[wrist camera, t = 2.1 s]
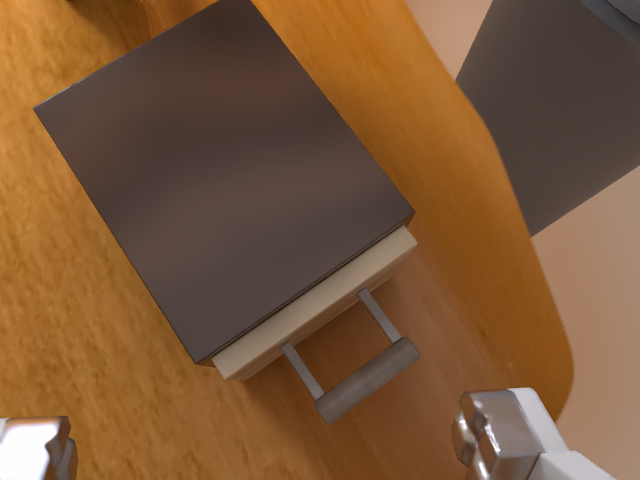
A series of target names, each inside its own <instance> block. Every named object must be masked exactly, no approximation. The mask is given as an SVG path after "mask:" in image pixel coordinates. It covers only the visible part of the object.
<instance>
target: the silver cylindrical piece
mask: <svg viewBox="0 0 640 480" xmlns="http://www.w3.org/2000/svg"><path fill="white" fill-rule="evenodd" d="M216 1H218V0H141V2H142V4H143V6H144V8H145V10H146V14H147V19H148V26H149V30H150V34H151V37H152V38H154V37H155V36H157V35H159V34H161V33H162V32H164V31H166V30H168V29H169V28H171V27H173V26H174V25H176V24H178V23H180V22H181V21H183V20H185V19H187V18H188V17H190V16H192V15H193V14H195V13H197V12H199V11H200V10H202V9H204V8H206V7H207V6H209V5H211V4H212V3H214V2H216Z"/></svg>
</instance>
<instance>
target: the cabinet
mask: <svg viewBox="0 0 640 480" xmlns="http://www.w3.org/2000/svg"><path fill="white" fill-rule="evenodd" d="M33 110H34V111H35V113H36V114H37V116H38V117H39V119H40V121H41V122H42V124H43V125H44V127H45V129H46V130H47V132H48V133H49V135H50V136H51V138H52V140H53V141H54V143H55V144H56V146H57V147H58V149H59V151H60V152H61V154H62V155H63V157H64V158H65V160H66V162H67V163H68V165H69V166H70V168H71V169H72V171H73V173H74V174H75V176H76V177H77V179H78V181H79V182H80V184H81V185H82V187H83V188H84V190H85V192H86V193H87V195H88V196H89V198H90V199H91V201H92V203H93V204H94V206H95V207H96V209H97V210H98V212H99V214H100V215H101V217H102V218H103V220H104V221H105V223H106V225H107V226H108V228H109V229H110V231H111V233H112V234H113V236H114V237H115V239H116V240H117V242H118V244H119V245H120V247H121V248H122V250H123V251H124V253H125V255H126V256H127V258H128V259H129V261H130V262H131V264H132V266H133V267H134V269H135V270H136V272H137V273H138V275H139V277H140V278H141V280H142V281H143V283H144V285H145V286H146V288H147V289H148V291H149V292H150V294H151V296H152V297H153V299H154V300H155V302H156V303H157V305H158V307H159V308H160V310H161V311H162V313H163V314H164V316H165V318H166V319H167V321H168V322H169V324H170V325H171V327H172V329H173V330H174V332H175V333H176V335H177V337H178V338H179V340H180V341H181V343H182V344H183V346H184V348H185V349H186V351H187V352H188V354H189V355H190V357H191V359H192V360H193V362H194V363H195V364H196V365H203V366H209V367H216V366H215V365H214V363H213V361H212V360H211V358H212V357H213V356H215V355H216V354H218V353H219V352H220V351H222V350H223V349H225V348H226V347H228V346H229V345H231V344H232V343H233V342H235V341H236V340H238V339H239V338H241V337H242V336H243V335H245V334H246V333H248V332H249V331H251V330H252V329H254V328H255V327H256V326H258V325H259V324H261V323H262V322H264V321H265V320H267V319H268V318H269V317H271V316H272V315H274V314H275V313H277V312H278V311H280V310H281V309H282V308H284V307H285V306H287V305H288V304H290V303H291V302H292V301H294V300H295V299H297V298H298V297H300V296H301V295H303V294H304V293H305V292H307V291H308V290H310V289H311V288H313V287H314V286H316V285H317V284H318V283H320V282H321V281H323V280H324V279H326V278H327V277H328V276H330V275H331V274H333V273H334V272H336V271H337V270H339V269H340V268H341V267H343V266H344V265H346V264H347V263H349V262H350V261H352V260H353V259H354V258H356V257H357V256H359V255H360V254H362V253H363V252H364V251H366V250H367V249H369V248H370V247H372V246H373V245H375V244H376V243H377V242H379V241H380V240H382V239H383V238H385V237H386V236H388V235H389V234H390V233H392V232H393V231H395V230H396V229H398V228H399V227H401V226H402V225H404V226H405V227H406V228H407V226H408V224H409V223H410V221H411V219H412V218H413V216H414V214H415V211H414V209H413V208H412V207H411V206H410V204H409V203H408V202H407V200H406V199H405V198H404V197H403V195H402V194H401V193H400V191H399V190H398V189H397V188H396V186H395V185H394V184H393V182H392V181H391V180H390V179H389V177H388V176H387V175H386V173H385V172H384V171H383V170H382V168H381V167H380V166H379V164H378V163H377V162H376V161H375V159H374V158H373V157H372V155H371V154H370V153H369V152H368V150H367V149H366V148H365V146H364V145H363V144H362V143H361V141H360V140H359V139H358V137H357V136H356V135H355V134H354V132H353V131H352V130H351V129H350V127H349V126H348V125H347V123H346V122H345V121H344V120H343V118H342V117H341V116H340V114H339V113H338V112H337V111H336V109H335V108H334V107H333V105H332V104H331V103H330V102H329V100H328V99H327V98H326V96H325V95H324V94H323V93H322V91H321V90H320V89H319V87H318V86H317V85H316V84H315V82H314V81H313V80H312V78H311V77H310V76H309V75H308V73H307V72H306V71H305V69H304V68H303V67H302V66H301V64H300V63H299V62H298V61H297V59H296V58H295V57H294V55H293V54H292V53H291V52H290V50H289V49H288V48H287V46H286V45H285V44H284V43H283V41H282V40H281V39H280V37H279V36H278V35H277V34H276V32H275V31H274V30H273V28H272V27H271V26H270V25H269V23H268V22H267V21H266V19H265V18H264V17H263V16H262V14H261V13H260V12H259V10H258V9H257V8H256V7H255V5H254V4H253V3H252V1H251V0H218V1H216V2H214V3H212V4H211V5H209V6H207V7H206V8H204V9H202V10H200V11H199V12H197V13H195V14H193V15H192V16H190V17H188V18H187V19H185V20H183V21H181V22H180V23H178V24H176V25H174V26H173V27H171V28H169V29H168V30H166V31H164V32H162V33H161V34H159V35H157V36H155V37H154V38H152V39H150V40H148V41H147V42H145V43H143V44H142V45H140V46H138V47H136V48H135V49H133V50H131V51H129V52H128V53H126V54H124V55H123V56H121V57H119V58H117V59H116V60H114V61H112V62H110V63H109V64H107V65H105V66H104V67H102V68H100V69H98V70H97V71H95V72H93V73H91V74H90V75H88V76H86V77H85V78H83V79H81V80H79V81H78V82H76V83H74V84H72V85H71V86H69V87H67V88H65V89H64V90H62V91H60V92H59V93H57V94H55V95H53V96H52V97H50V98H48V99H46V100H45V101H43V102H41V103H40V104H38V105H36V106H34V107H33Z"/></svg>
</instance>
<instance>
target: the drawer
mask: <svg viewBox="0 0 640 480" xmlns="http://www.w3.org/2000/svg"><path fill="white" fill-rule="evenodd" d="M417 244H418V243H417V241H416V240H415V239H414V237H413V236H412V235H411V234H410V232H409V231H408V230H407V228H406V227H405V226H404V225H402V226H401V227H399V228H398V229H396V230H395V231H393V232H392V233H390V234H389V235H388V236H386V237H385V238H383V239H382V240H380V241H379V242H377V243H376V244H375V245H373V246H372V247H370V248H369V249H367V250H366V251H364V252H363V253H362V254H360V255H359V256H357V257H356V258H354V259H353V260H352V261H350V262H349V263H347V264H346V265H344V266H343V267H341V268H340V269H339V270H337V271H336V272H334V273H333V274H331V275H330V276H328V277H327V278H326V279H324V280H323V281H321V282H320V283H318V284H317V285H316V286H314V287H313V288H311V289H310V290H308V291H307V292H305V293H304V294H303V295H301V296H300V297H298V298H297V299H295V300H294V301H292V302H291V303H290V304H288V305H287V306H285V307H284V308H282V309H281V310H280V311H278V312H277V313H275V314H274V315H272V316H271V317H269V318H268V319H267V320H265V321H264V322H262V323H261V324H259V325H258V326H256V327H255V328H254V329H252V330H251V331H249V332H248V333H246V334H245V335H243V336H242V337H241V338H239V339H238V340H236V341H235V342H233V343H232V344H231V345H229V346H228V347H226V348H225V349H223V350H222V351H220V352H219V353H218V354H216V355H215V356H213V357H212V358H211V360H212V361H213V363H214V365H215V366H216V368H217V369H218V371H219V372H220V374H221V375H222V377H223V379H227V380H248V379H249V378H251V377H252V376H253V375H255V374H256V373H258V372H259V371H260V370H262V369H263V368H265V367H266V366H267V365H269V364H270V363H272V362H273V361H274V360H276V359H277V358H279V357H280V356H282V355H283V354H285V356H286V357H287V359H288V360H289V362H290V363H291V365H292V366H293V368H294V369H295V371H296V372H297V373H298V375H299V376H300V378H301V379H302V381H303V382H304V384H305V385H306V387H307V388H308V390H309V391H310V393H311V394H312V396H313V397H314V399H315V400H316V401H315V402H314V403H313V404H314V406H315V407H316V409H317V410H318V412H319V413H320V415H321V416H322V418H323V419H324V421H325V422H326V424H327V425H328V426H329V425H331V424H332V423H333V422H335V421H336V420H337V419H339V418H340V417H341V416H343V415H344V414H345V413H347V412H348V411H349V410H351V409H352V408H353V407H355V406H356V405H357V404H359V403H360V402H362V401H363V400H364V399H366V398H367V397H368V396H370V395H371V394H372V393H374V392H375V391H376V390H378V389H379V388H380V387H382V386H383V385H384V384H386V383H387V382H388V381H390V380H391V379H392V378H394V377H395V376H396V375H398V374H399V373H400V372H402V371H403V370H404V369H406V368H407V367H408V366H410V365H411V364H413V363H414V362H415V361H417V360H418V359H419V358H420V357H421V356H420V353H419V351H418V350H417V348H416V347H415V345H414V344H413V343H412V342H411V340H410V339H409V338H408V337H406V336H403V337H402V336H401V335H400V333H399V332H398V331H397V329H396V328H395V327H394V325H393V324H392V323H391V321H390V320H389V318H388V317H387V316H386V314H385V313H384V312H383V310H382V309H381V307H380V306H379V305H378V303H377V302H376V301H375V299H374V298H373V297H372V295H371V294H370V292H372V291H373V290H375V289H376V288H377V287H379V286H380V285H382V284H383V283H384V282H386V281H387V280H389V279H390V278H391V277H393V276H394V274H395V273H396V272H397V270H398V269H399V268H400V266H401V265H402V264H403V262H404V261H405V260H406V258H407V257H408V256H409V254H410V253H411V252H412V250H413V249H414V248H415V246H416V245H417ZM359 300H360V301H361V302H362V304H363V305H364V306H365V308H366V309H367V311H368V312H369V313H370V315H371V316H372V317H373V319H374V320H375V322H376V323H377V324H378V326H379V327H380V328H381V330H382V331H383V333H384V334H385V335H386V337H387V338H388V339H389V341H390V342H391V343H392V345H391V346H390V347H388V348H387V349H386V350H384V351H383V352H382V353H380V354H379V355H377V356H376V357H375V358H373V359H372V360H371V361H369V362H368V363H367V364H365V365H364V366H362V367H361V368H360V369H358V370H357V371H356V372H354V373H353V374H352V375H350V376H349V377H347V378H346V379H345V380H343V381H342V382H341V383H339V384H338V385H337V386H335V387H334V388H332V389H331V390H330V391H328V392H327V393H326V394H325V392H324V391H323V389H322V388H321V387H320V385H319V384H318V382H317V381H316V379H315V378H314V376H313V375H312V373H311V372H310V370H309V369H308V367H307V366H306V365H305V363H304V362H303V360H302V359H301V357H300V356H299V354H298V353H297V351H296V350H295V348H294V346H296V345H297V344H298V343H300V342H301V341H303V340H304V339H305V338H307V337H308V336H310V335H311V334H313V333H314V332H315V331H317V330H318V329H320V328H321V327H322V326H324V325H325V324H327V323H328V322H329V321H331V320H332V319H334V318H335V317H336V316H338V315H339V314H341V313H342V312H344V311H345V310H346V309H348V308H349V307H351V306H352V305H353V304H355V303H356V302H358V301H359Z"/></svg>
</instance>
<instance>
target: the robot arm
mask: <svg viewBox="0 0 640 480" xmlns="http://www.w3.org/2000/svg"><path fill="white" fill-rule="evenodd" d="M459 404H460V407H461V409H462V410H461V411H460V412H459V413H458V414H456V415H455V416H454V419H453V423H452V442H453V446H454V450H455V453H456V456H457V458H458V460H459V461H460V462H461V463H463V464H464V465H465V466H466V467H467V468H468V471H467V474H466V478H465V479H466V480H616V479H615V478H614V477H612V476H611V475H610V474H608V473H607V472H606V471H604V470H603V469H601V468H600V467H599V466H597V465H596V464H595V463H593V462H592V461H590V460H589V459H588V458H586V457H585V456H584V455H582V454H581V453H579V452H578V451H570V449H569V447H568V446H567V444H566V442H565V441H564V439H563V437H562V435H561V434H560V432H559V431H558V429H557V427H556V425H555V424H554V422H553V420H552V419H551V417H550V415H549V413H548V412H547V410H546V408H545V407H544V405H543V403H542V402H541V400H540V398H539V396H538V395H537V393H536V391H534V390H533V389H532V388H514V389H506V388H505V389H491V390H478V391H465V392H464V393H463V394H462V395H461V398H460V401H459ZM70 429H71V425H70V422H69V419H68V416H50V417H20V418H0V480H76V475H77V464H78V455H77V447H76V443H75V441H74V440H73V439H71V438H69V437H68V436H69V433H70Z"/></svg>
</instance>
